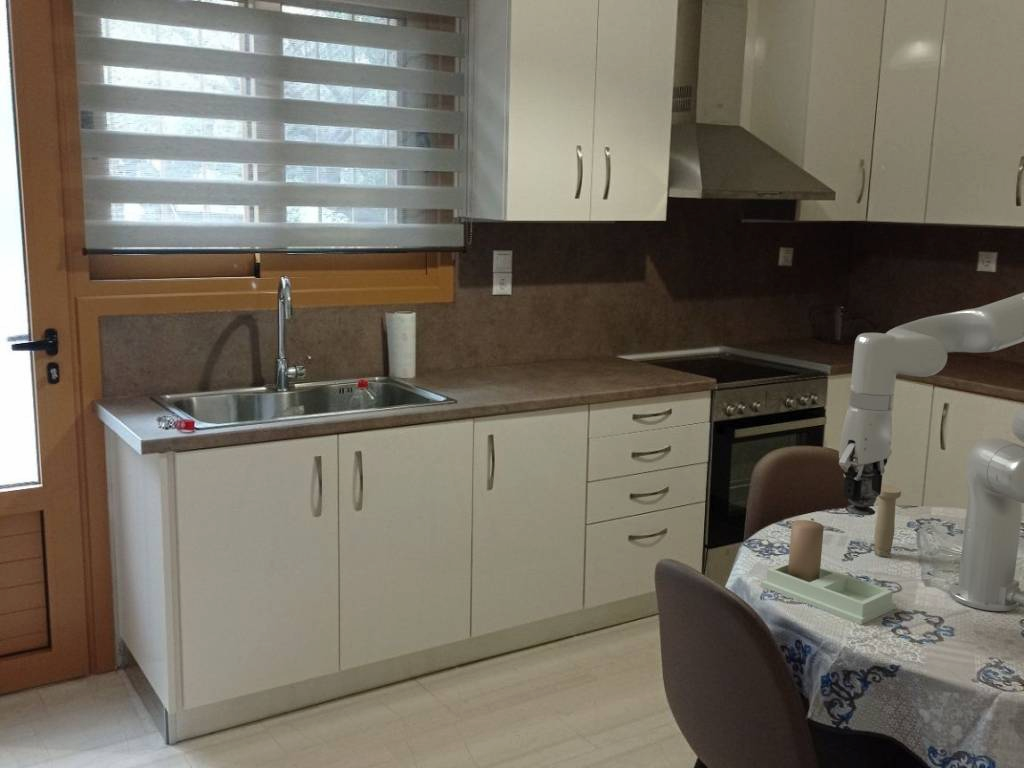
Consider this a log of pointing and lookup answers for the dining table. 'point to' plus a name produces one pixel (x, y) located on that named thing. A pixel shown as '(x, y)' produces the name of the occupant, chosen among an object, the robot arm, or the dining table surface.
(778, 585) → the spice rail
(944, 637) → the dining table surface
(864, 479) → the salt shaker
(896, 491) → the handle
